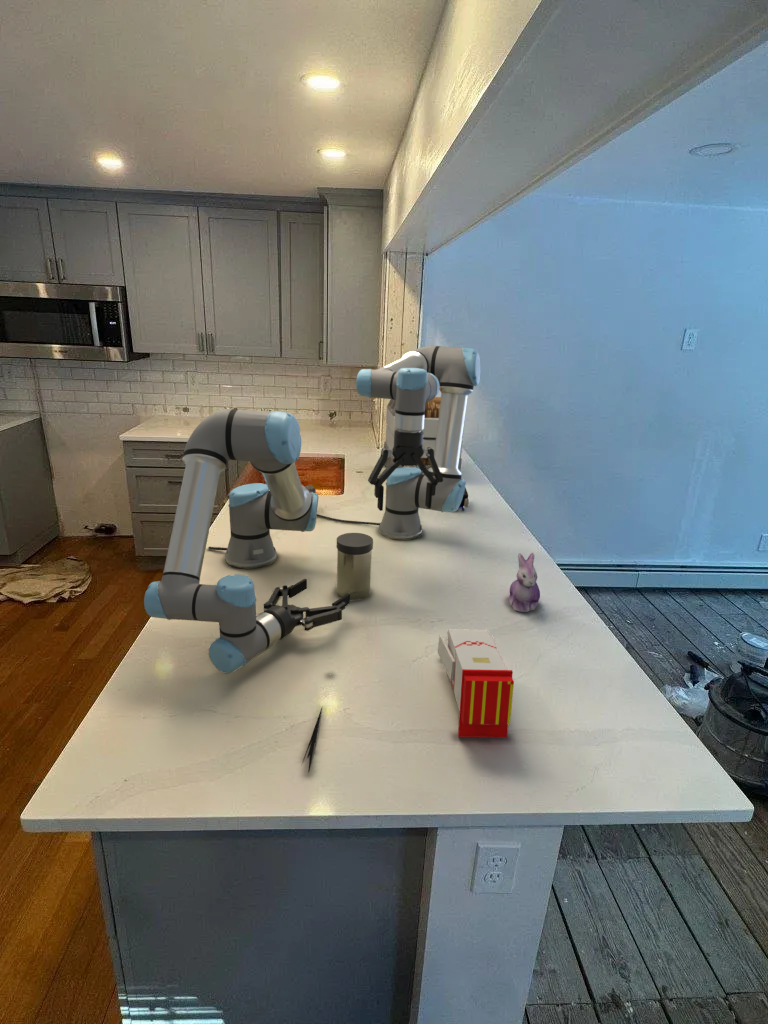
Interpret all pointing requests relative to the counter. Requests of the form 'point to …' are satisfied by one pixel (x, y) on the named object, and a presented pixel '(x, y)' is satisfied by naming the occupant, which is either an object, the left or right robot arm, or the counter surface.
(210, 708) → the counter surface
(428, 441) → the transformer
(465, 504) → the figurine character
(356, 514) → the counter surface
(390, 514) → the right robot arm
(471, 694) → the toy
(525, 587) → the figurine
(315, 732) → the feather
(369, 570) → the jar
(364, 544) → the lid
